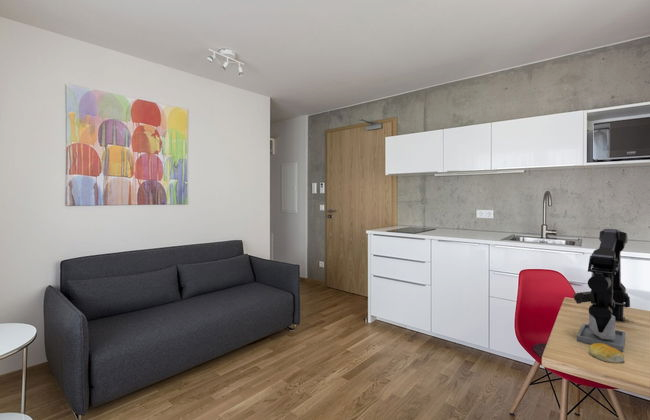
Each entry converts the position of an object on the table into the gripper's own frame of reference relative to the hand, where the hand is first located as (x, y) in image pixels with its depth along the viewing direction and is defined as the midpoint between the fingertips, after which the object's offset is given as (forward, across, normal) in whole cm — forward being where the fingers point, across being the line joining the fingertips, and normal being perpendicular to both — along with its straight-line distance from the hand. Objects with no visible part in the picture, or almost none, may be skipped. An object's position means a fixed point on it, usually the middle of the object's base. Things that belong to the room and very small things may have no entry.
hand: (601, 328), depth 122 cm
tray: (+4, 0, 0) cm, 4 cm away
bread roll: (+4, +17, +2) cm, 18 cm away
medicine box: (+3, 0, 0) cm, 3 cm away
